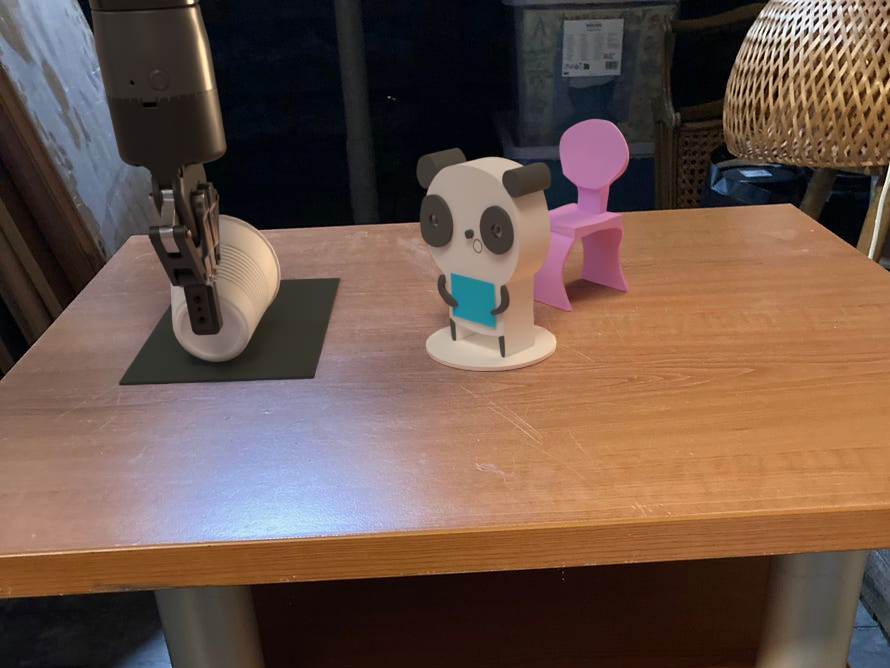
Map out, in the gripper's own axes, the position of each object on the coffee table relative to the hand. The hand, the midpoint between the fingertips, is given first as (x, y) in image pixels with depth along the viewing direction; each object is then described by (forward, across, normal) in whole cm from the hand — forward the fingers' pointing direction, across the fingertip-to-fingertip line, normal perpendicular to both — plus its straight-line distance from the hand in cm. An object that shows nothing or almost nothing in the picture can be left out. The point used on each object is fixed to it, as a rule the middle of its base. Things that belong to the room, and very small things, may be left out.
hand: (208, 331), depth 79 cm
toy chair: (+4, -19, +31) cm, 37 cm away
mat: (+4, -14, 0) cm, 14 cm away
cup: (+1, -2, 0) cm, 2 cm away
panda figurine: (+4, -7, +22) cm, 24 cm away
